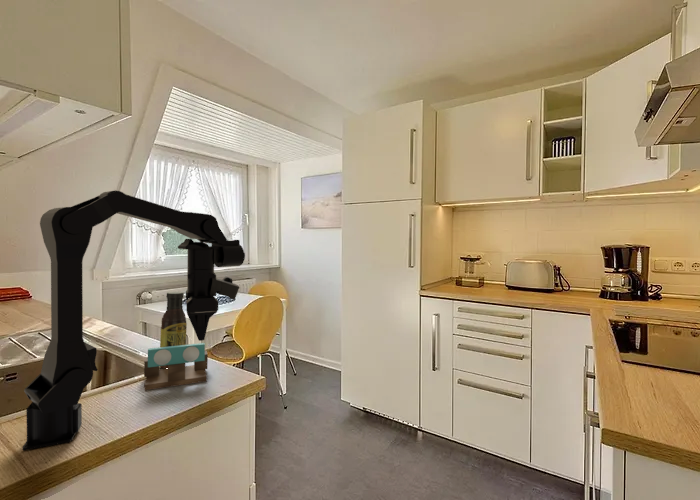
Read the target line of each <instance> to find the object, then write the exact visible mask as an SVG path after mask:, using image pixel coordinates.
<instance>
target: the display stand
mask: <svg viewBox="0 0 700 500" xmlns="http://www.w3.org/2000/svg"><path fill="white" fill-rule="evenodd" d="M208 354H209V353H208V351H207V350H205V361H197V362H193V365H186V363H181V364H173V365H168V369H163V368H161V369H160V366H156V367H148V356H146V357H145V358H144V363H143V365H144V366H143V368H144V370H143V371H144V372H143V376H144V378H145V381H144V391H150V390H156V389H161V388H169V387H175V386H183V385H189V384H190V385H191V384H196V383H205V382H207V379H208V377H207V371H206V370H208V358H209V357H208Z"/></svg>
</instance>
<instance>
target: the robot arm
mask: <svg viewBox="0 0 700 500" xmlns="http://www.w3.org/2000/svg"><path fill="white" fill-rule="evenodd" d="M116 214H119V215H123V216H126V217H128V218H134V219H137V220H141V221H145V222H148V223H152V224H155V225H159V226H164V227H165V228H166V227H168V228H169V229H172V230H174V232H177V233H178V234H181V235H182V236H184V237H186V238H185V239H184V240H183V242H181V243H180V244H179V245H177V248H178V249H179V250H187V269H186V271H187V272H186V276H187V278H186V279H187V281H186V282H187V289H186V291H185V302H186V314H187V317H188V319H189V321H190V323H191V326H192V328H193V330H194V333H195V335H196V338H197V339H198V341H205V337H206V334H207V330H208V327H209V321H210V319H211V317H213V316H214V315H215V314H217V312H218V311H219V300H218V299H217V298H216V296H217V295H220V296H225V297H228V298H229V299H232V300H236V297H237V295H238V292H239V289H240V285H238V284H236V283H234V282H233V278H232V277H228V276H225V277H224V278H222V279H221V278H217V274H216V273H215V267H217V268H229V267H240V266H242V265H243V264H244V262H245V258H246V252H245V251H244V248H243V246H242V245H241V244H240V239H227V237H226V236H225V234H224V233H223V230H222V229H221V227H219V223H218V221H217V217H215V216H213V215H212V214H208V213H202V212H201V213H200V212H189V211H181V210H177V209H174V208H170V207H168V206H165V205H162V204H158V203H154V202H152V201H148V200H145V199H142V198H140V197H135V196H132V195H128V194H126V193H124V192H123V191H121V190H115V189H114V190H110V191H104V192H102V193H100V194H99V195H96V196H95V197H93V198H89V199H88V200H84V201H82V202H80V203H77V204H74V205H72V206H64V207H63V206H62V207H54V208H52V209H48V210H47V211H45V212H44V213H43V214H42V215H41V217H40V221H39V227H40V230H41V234H42V236H41V237H42V239H43V243H44V246H45V248H46V250H47V251H46V252H47V253H48V255H49V258H50V309H51V310H50V312H51V313H50V314H51V315H50V316H51V318H50V321H51V325H50V330H51V331H50V340H49V344H48V346H47V349H46V351H45V353H44V355H43V356H44V357H43V361H42V365H41V366H42V367H41V370H40V373H39V375H37V376H36V378H34V380H32V381H31V382H30V383H29V384H28V385H27V386H26V387H25V388H24V389H23V391H24V393H25V395H26V397H27V398H28V399H29V401H31V403H30V404H29V405H28V406H27V408H26V441H25V442H24V444H23V445H22V447H21V449H22V451H26V450H27V451H29V450H33V449H38V448H43V447H44V448H45V447H50V446H54V445H60V444H66V443H70V442H72V441H73V439H74V438H75V436H76V434H77V433H78V432H79V431H80V429H81V427H82V423H83V421H82V418H83V417H82V412H83V410H82V403H81V402H79V401H80V399H81V396H82V394H83V391H84V389H85V388H86V387H87V386H88V385H90V383H91V381H92V380H93V377H94V371H95V372H97V371H99V369H98V367H97V366H96V358H97V354H98V353H97V351H98V350H97V347H95V346H93V345H91V344H89V343H87V342H85V341H84V336H83V334H84V333H83V332H84V330H83V327H84V326H83V324H84V323H83V320H84V319H83V315H84V314H83V306H84V305H83V295H84V294H83V260H84V256H85V255H86V254H85V253H86V252H87V249H88V247H89V245H90V242H91V236H92V232H93V228H94V227H96V226H98V225H100V224H101V223H104V222H105V221H107V220H108V219H110V218H112V217H113V216H114V215H116ZM194 240H197V241H194ZM209 244H211V246H209Z"/></svg>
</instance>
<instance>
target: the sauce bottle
mask: <svg viewBox="0 0 700 500" xmlns="http://www.w3.org/2000/svg"><path fill="white" fill-rule="evenodd" d="M183 298H184V292H183V291H168V292H166V299H167V301H166V311H165V312H164V313H163V316H162V317H161V326H160V337H159V339H160V341H159V347H169V346H179V345H187V325H188V323H187V319H186V318H187V317H186V314H185V311H184V308H183V307H184V306H183V301H184V300H183ZM159 368H161V369H166V368H168V365H164V366H159Z"/></svg>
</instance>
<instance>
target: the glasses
mask: <svg viewBox="0 0 700 500" xmlns="http://www.w3.org/2000/svg"><path fill="white" fill-rule="evenodd" d="M205 345H206V344H205V342H199V343H191V344H186V345H179V346H169V347H160V346H159V347H152V348H151V347H150V348H147V357H148V367H156V366H159V367H160V366H164V365H173V364H181V363H185V364H186V363H187V364H188V363H194V362H197V361H205V351H206V348H205V347H206V346H205Z"/></svg>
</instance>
